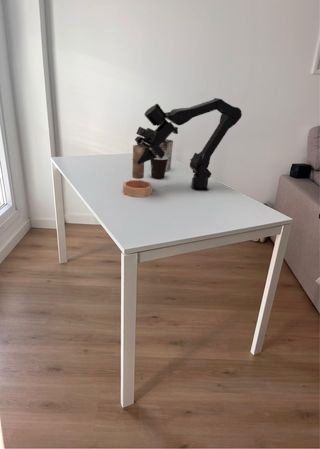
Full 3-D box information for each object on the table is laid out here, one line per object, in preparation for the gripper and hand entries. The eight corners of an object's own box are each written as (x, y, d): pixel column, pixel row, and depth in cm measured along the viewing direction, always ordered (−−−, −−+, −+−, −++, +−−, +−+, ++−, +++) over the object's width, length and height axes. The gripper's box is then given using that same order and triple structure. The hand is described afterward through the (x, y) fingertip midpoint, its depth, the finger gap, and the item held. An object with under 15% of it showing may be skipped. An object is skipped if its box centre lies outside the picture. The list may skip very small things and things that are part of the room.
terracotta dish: (148, 187, 145) (149, 179, 144) (153, 197, 134) (154, 189, 133) (121, 187, 143) (121, 179, 141) (124, 197, 132) (124, 189, 130)
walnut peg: (144, 176, 138) (145, 145, 132) (142, 179, 133) (143, 147, 128) (133, 174, 138) (134, 144, 132) (131, 178, 134) (132, 146, 128)
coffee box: (150, 168, 174) (152, 138, 167) (156, 166, 179) (158, 137, 172) (164, 172, 169) (167, 141, 163) (171, 170, 174) (173, 140, 168)
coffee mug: (164, 180, 156) (166, 160, 152) (147, 178, 157) (148, 158, 153) (168, 174, 166) (170, 155, 162) (152, 172, 168) (153, 153, 163)
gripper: (139, 116, 135) (114, 143, 135) (159, 123, 120) (131, 154, 120) (155, 135, 142) (131, 161, 142) (176, 143, 127) (149, 173, 127)
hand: (135, 161), depth 132 cm, fingers closed on walnut peg, 5 cm apart
